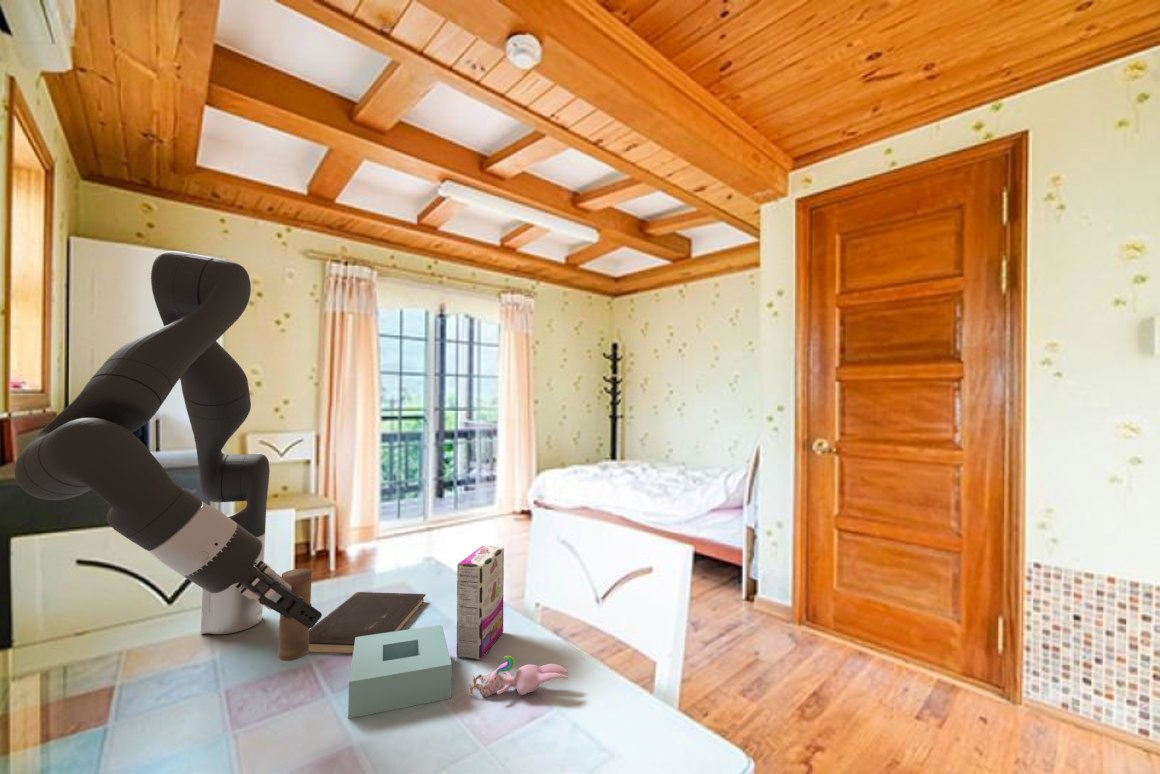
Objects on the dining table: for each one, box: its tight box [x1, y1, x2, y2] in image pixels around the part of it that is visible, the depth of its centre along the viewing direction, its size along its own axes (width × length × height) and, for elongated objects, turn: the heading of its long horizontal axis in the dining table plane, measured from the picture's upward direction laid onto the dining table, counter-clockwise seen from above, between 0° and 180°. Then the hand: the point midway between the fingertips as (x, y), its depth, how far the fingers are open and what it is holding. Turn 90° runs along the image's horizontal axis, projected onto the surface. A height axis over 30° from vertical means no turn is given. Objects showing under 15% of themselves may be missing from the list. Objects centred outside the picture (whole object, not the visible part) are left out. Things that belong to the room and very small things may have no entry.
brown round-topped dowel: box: [277, 568, 313, 662], centre depth 68 cm, size 4×4×11 cm
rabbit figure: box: [468, 655, 569, 698], centre depth 76 cm, size 6×6×15 cm
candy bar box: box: [456, 545, 505, 661], centre depth 90 cm, size 11×5×16 cm, turn 168°
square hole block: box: [347, 624, 453, 719], centre depth 78 cm, size 14×14×5 cm
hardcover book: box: [309, 591, 427, 654], centre depth 98 cm, size 16×23×2 cm
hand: (310, 615), depth 69 cm, fingers closed on brown round-topped dowel, 3 cm apart
